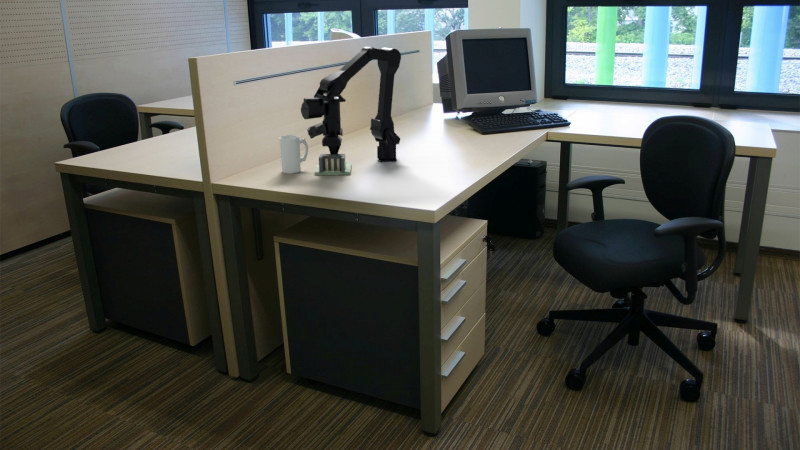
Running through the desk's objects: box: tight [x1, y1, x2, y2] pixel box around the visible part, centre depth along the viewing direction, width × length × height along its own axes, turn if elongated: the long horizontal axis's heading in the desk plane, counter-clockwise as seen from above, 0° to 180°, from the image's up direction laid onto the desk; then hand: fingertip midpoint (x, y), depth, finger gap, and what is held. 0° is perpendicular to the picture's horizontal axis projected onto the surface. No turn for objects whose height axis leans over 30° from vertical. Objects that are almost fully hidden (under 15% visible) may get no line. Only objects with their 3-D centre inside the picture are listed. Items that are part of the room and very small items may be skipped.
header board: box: [314, 159, 352, 176], centre depth 228 cm, size 12×12×5 cm
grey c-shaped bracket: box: [318, 153, 346, 173], centre depth 224 cm, size 6×8×5 cm
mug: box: [279, 134, 309, 175], centre depth 226 cm, size 10×7×12 cm, turn 124°
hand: (333, 160), depth 229 cm, fingers closed
